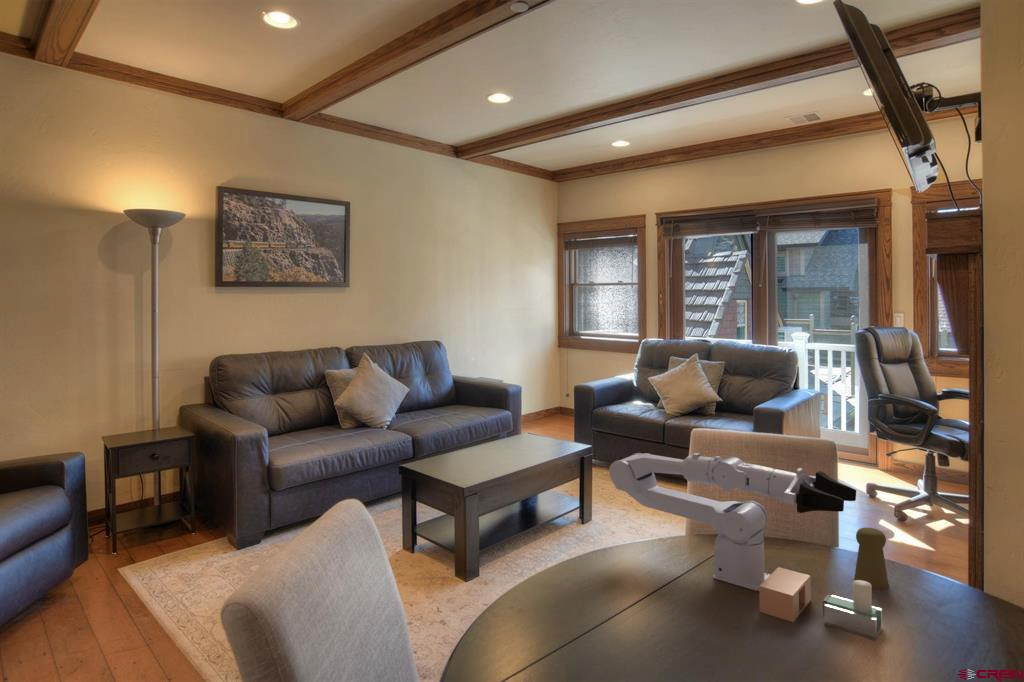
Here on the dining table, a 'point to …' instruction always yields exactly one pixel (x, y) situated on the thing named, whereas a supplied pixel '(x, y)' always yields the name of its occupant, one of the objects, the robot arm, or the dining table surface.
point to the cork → (871, 558)
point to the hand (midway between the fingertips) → (849, 500)
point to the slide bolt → (855, 600)
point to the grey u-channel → (853, 621)
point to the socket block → (785, 594)
